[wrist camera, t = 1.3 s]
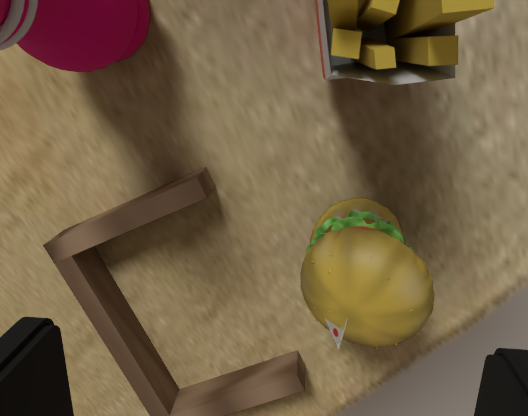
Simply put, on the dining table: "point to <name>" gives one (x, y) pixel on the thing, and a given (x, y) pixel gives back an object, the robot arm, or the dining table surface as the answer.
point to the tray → (131, 332)
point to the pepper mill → (75, 30)
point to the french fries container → (392, 38)
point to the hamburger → (365, 276)
